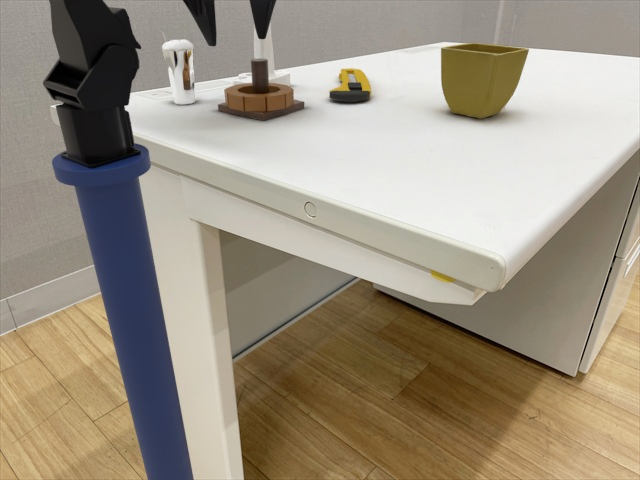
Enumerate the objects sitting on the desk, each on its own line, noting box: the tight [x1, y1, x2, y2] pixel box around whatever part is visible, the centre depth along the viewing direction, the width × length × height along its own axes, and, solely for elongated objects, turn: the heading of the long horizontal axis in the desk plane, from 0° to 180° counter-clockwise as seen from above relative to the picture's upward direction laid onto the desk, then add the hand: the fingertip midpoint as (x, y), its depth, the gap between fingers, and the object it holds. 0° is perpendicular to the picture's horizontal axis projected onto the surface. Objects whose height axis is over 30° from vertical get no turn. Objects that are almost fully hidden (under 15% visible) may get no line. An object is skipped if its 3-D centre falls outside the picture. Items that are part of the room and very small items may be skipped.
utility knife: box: [329, 68, 372, 103], centre depth 86 cm, size 7×22×2 cm, turn 0°
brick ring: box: [224, 83, 295, 112], centre depth 72 cm, size 10×10×2 cm
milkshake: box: [160, 31, 196, 106], centre depth 75 cm, size 4×5×10 cm
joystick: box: [232, 21, 291, 87], centre depth 81 cm, size 11×8×20 cm
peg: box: [217, 58, 305, 122], centre depth 72 cm, size 9×9×7 cm
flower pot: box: [440, 42, 530, 119], centre depth 70 cm, size 9×9×9 cm
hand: (238, 42), depth 66 cm, fingers open, 9 cm apart
